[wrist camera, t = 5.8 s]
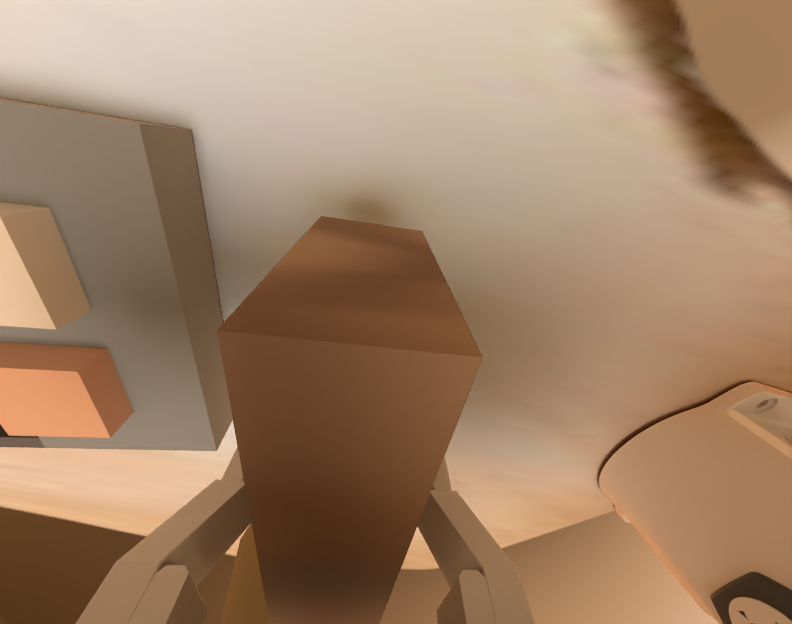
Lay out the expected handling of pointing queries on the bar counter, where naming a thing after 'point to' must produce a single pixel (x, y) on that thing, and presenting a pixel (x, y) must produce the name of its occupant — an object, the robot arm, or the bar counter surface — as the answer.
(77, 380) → the tile terracotta
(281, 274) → the long wooden plank
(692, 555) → the robot arm
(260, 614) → the squeeze bottle
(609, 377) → the bar counter surface
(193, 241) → the grey tray with lip
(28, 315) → the tile cream
